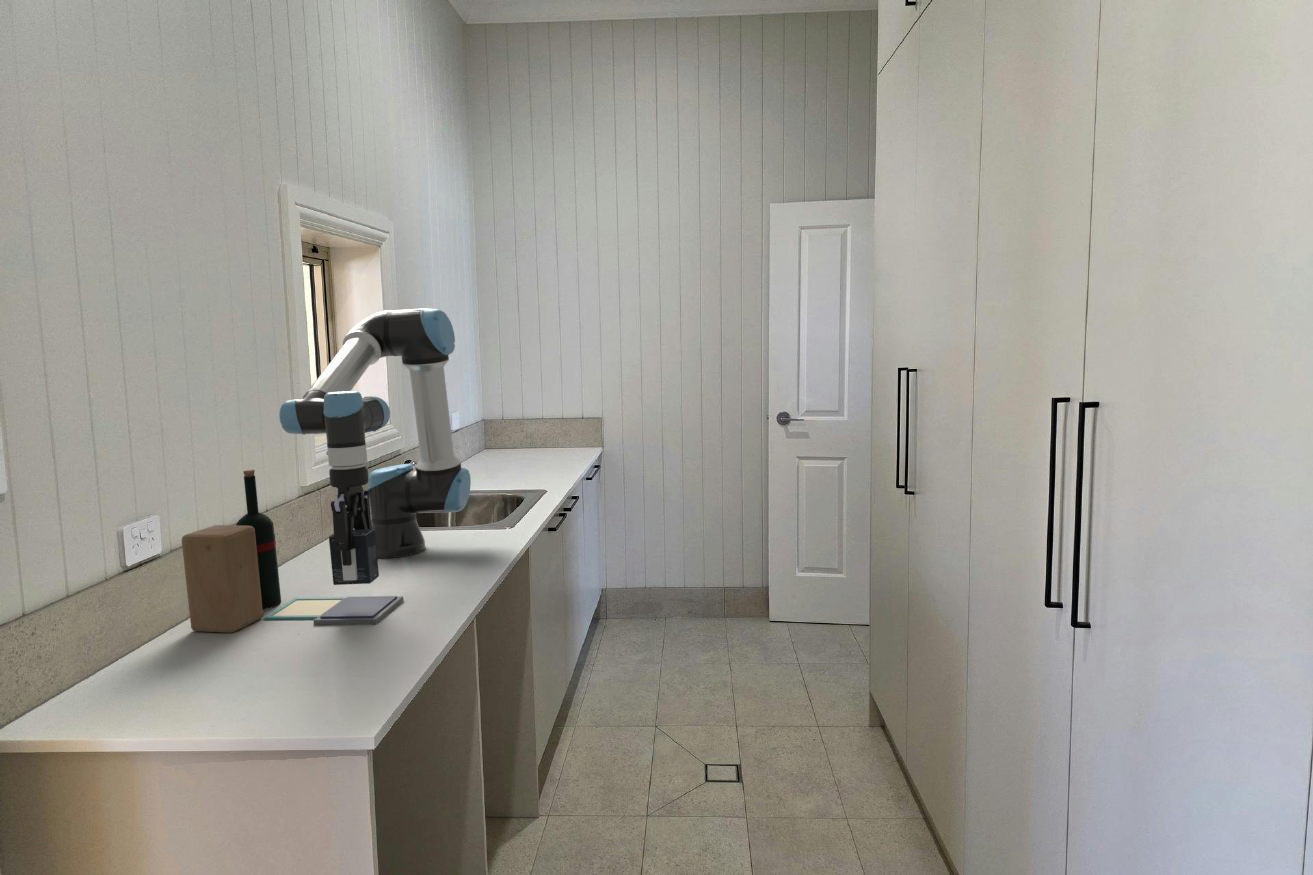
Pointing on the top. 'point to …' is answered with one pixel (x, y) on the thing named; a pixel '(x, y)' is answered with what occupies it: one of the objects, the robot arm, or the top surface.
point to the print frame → (303, 608)
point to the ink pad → (359, 610)
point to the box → (357, 558)
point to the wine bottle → (262, 544)
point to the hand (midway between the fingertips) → (357, 575)
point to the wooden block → (222, 578)
